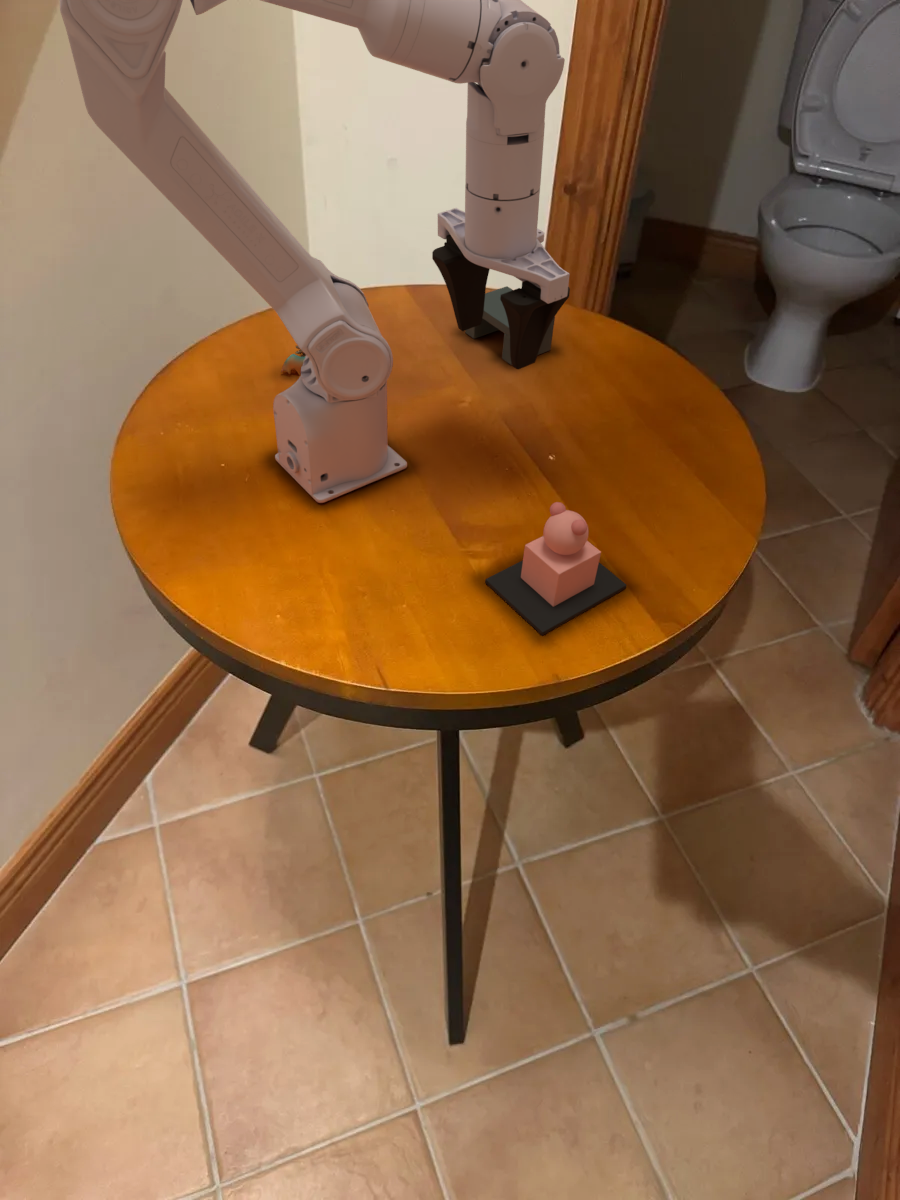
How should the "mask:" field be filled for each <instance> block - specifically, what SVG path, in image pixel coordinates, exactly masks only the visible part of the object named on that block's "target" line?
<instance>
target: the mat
mask: <svg viewBox="0 0 900 1200" xmlns="http://www.w3.org/2000/svg"><path fill="white" fill-rule="evenodd" d="M522 564H523V559H522V560H520V561H518V562H516V563H515V564H513V565H511V566H508V567H507V568H504V569H503V570H500V571H499V572H497V573H495V574H493V575H491V576H489V577H487V578H485V581H484V583H485V584H486V585H487V586H488V587H489V588H490V589H491V590H492V591H494V592H495V594H497V595H498V596H499V597H500V598H501V600H503V601H504V602H505V603H506V604H508V606H510V607H511V608H512V609H513V610H514V611H515V612H516V613H517V614H518V615H519V616H520V617H522V619H524V621H526V622H527V623H528V624H529V625H530V626H531V627H532V628H533V629H534V630H536V631H537V632H538V633H539V634H540V635H541V636H544V635H546V634H548V633H549V632H551V631H553V630H555V629H556V628H558V627H560V626H561V625H564V624H565V623H568V622H569V621H570V620H572V619H574V618H576V617H578V616H580V615H581V614H583V613H584V612H587V611H589V610H591V609H592V608H593V607H595V606H597V605H599V604H601V603H603V602H604V601H606V600H608V599H609V598H611V597H613V596H615V595H617V594H618V593H620V592H622V591H623V590H626V589H627V586H628V585H627V584H626V583H625V582H624V581H623V580H621V578H619V577H618V576H617V575H615V574H614V573H613V572H612V571H610V570H609V569H608V568H607V567H605V566H604V565H603V564H602V563H601V562H599V564H598V568H597V573H596V577H595V582H594V585H592V586H590V587H588V588H587V589H585V590H583V591H581V592H579V593H578V594H576V595H574V596H572V597H570V598H568V599H567V600H565V601H563V602H561V603H559V604H558V605H556V606H554V607H553V606H552V605H551V604H550V603H548V602H547V601H546V600H545V599H544V598H543V597H542V596H541V595H540V594H538V593H537V592H536V591H535V590H534V589H533V588H532V587H531V586H529V585H528V584H527V583H526V582H525V581H524V580H523V579H522V578H521V572H522Z"/></svg>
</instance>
